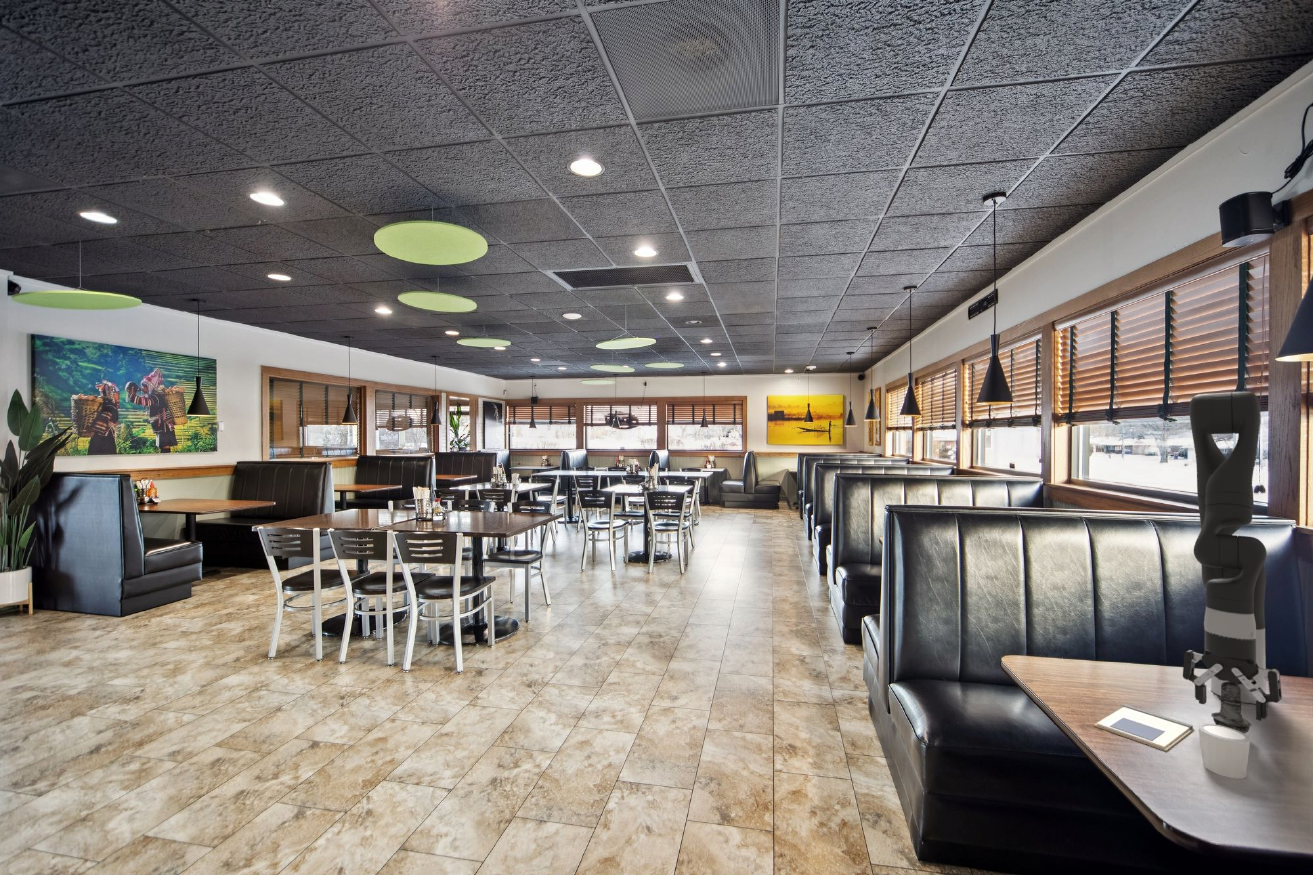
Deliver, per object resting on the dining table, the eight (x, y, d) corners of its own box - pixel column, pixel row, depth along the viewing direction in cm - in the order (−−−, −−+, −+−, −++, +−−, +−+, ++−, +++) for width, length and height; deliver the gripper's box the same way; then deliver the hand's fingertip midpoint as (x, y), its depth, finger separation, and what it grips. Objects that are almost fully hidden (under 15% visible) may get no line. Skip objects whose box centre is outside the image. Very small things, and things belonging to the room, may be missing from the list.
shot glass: (1242, 784, 101) (1241, 744, 101) (1191, 765, 107) (1191, 727, 107) (1257, 774, 104) (1257, 735, 104) (1207, 756, 110) (1207, 719, 110)
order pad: (1124, 707, 130) (1124, 703, 130) (1194, 730, 120) (1194, 725, 120) (1093, 726, 122) (1093, 721, 122) (1166, 751, 112) (1166, 746, 112)
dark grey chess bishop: (1260, 745, 114) (1259, 685, 114) (1225, 742, 115) (1224, 682, 116) (1236, 731, 120) (1236, 673, 120) (1204, 728, 121) (1203, 671, 121)
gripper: (1284, 638, 114) (1285, 720, 114) (1190, 620, 126) (1190, 694, 126) (1274, 644, 110) (1275, 730, 110) (1178, 625, 122) (1178, 701, 122)
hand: (1230, 711), depth 118 cm, fingers open, 8 cm apart
